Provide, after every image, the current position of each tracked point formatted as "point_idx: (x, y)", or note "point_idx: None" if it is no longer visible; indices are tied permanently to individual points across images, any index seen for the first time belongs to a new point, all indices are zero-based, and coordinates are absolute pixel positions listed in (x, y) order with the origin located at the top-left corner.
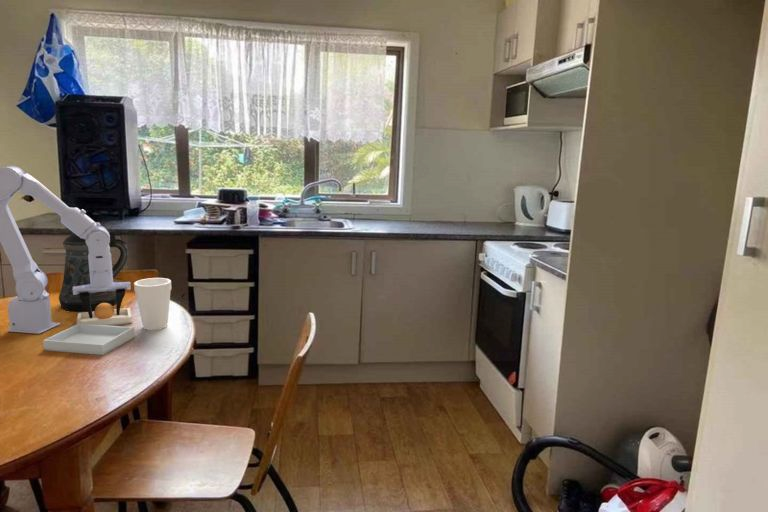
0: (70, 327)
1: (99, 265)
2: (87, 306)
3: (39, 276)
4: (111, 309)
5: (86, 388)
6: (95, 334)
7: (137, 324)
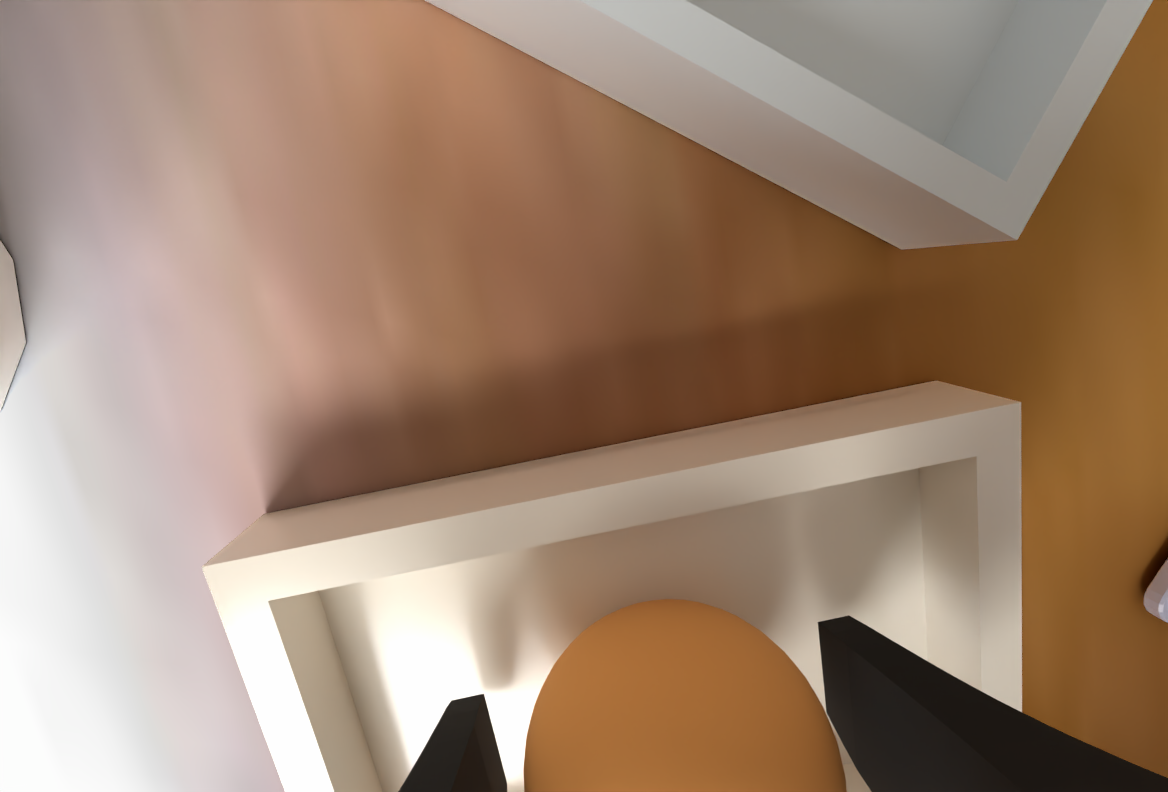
0: (1142, 3)
1: None
2: (1052, 754)
3: None
4: (548, 757)
5: None
6: None
7: (166, 451)
